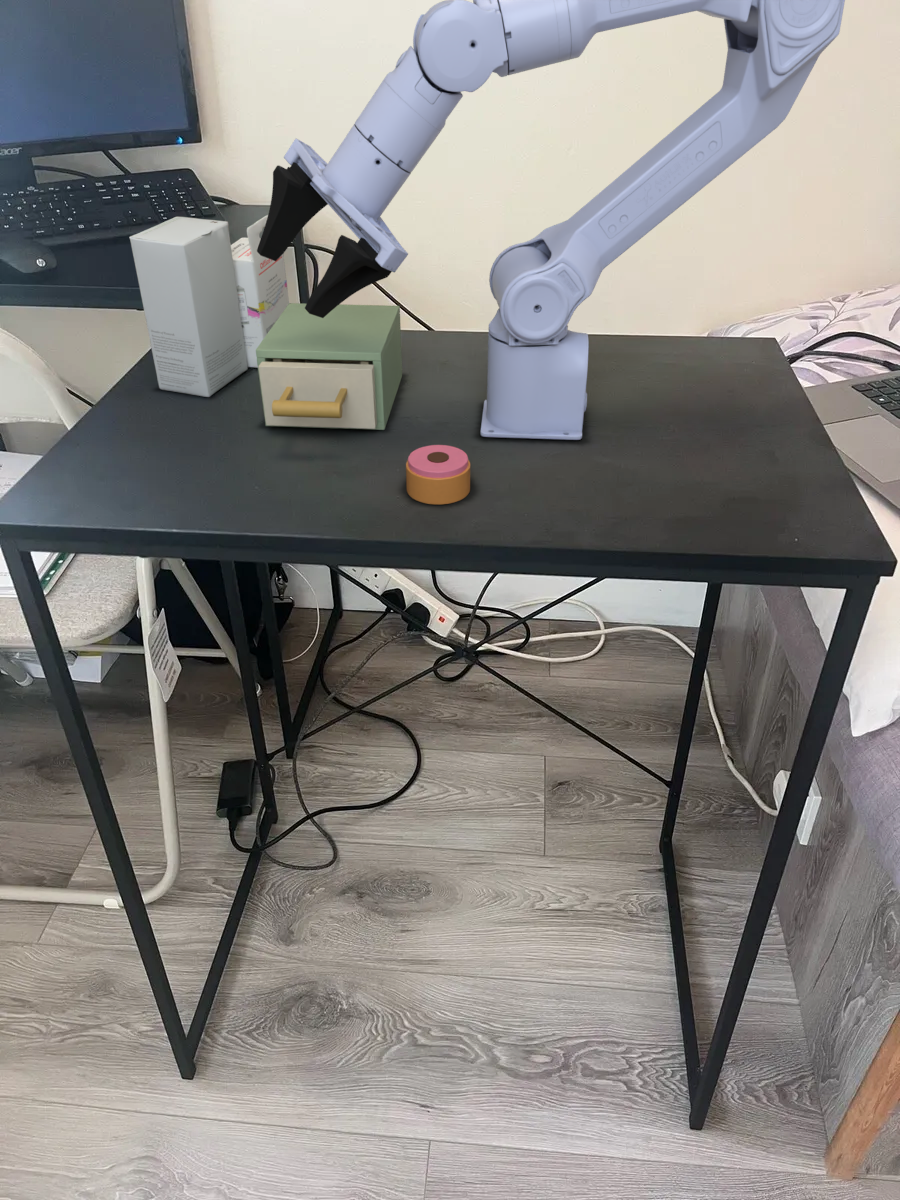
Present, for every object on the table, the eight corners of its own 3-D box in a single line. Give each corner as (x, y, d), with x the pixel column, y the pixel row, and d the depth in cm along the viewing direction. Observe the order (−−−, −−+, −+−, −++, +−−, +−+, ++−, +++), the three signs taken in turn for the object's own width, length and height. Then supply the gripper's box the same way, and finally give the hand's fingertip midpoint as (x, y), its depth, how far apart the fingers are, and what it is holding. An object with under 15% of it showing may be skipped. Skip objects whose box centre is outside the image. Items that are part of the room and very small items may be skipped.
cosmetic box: (201, 362, 101) (176, 214, 92) (253, 370, 99) (232, 220, 90) (156, 390, 94) (124, 234, 85) (210, 399, 92) (184, 240, 83)
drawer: (367, 452, 81) (363, 390, 77) (252, 448, 81) (243, 387, 78) (393, 378, 95) (390, 323, 91) (295, 375, 95) (289, 320, 92)
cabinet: (384, 430, 86) (380, 353, 82) (265, 426, 87) (255, 349, 83) (402, 376, 97) (399, 305, 93) (296, 373, 98) (288, 302, 94)
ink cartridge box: (254, 340, 107) (237, 207, 98) (294, 342, 106) (280, 208, 97) (225, 366, 100) (204, 226, 91) (268, 370, 99) (250, 228, 90)
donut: (472, 475, 79) (472, 443, 77) (468, 506, 74) (468, 473, 73) (410, 473, 79) (409, 441, 77) (403, 503, 75) (401, 470, 73)
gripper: (301, 74, 72) (212, 218, 77) (408, 188, 67) (306, 330, 73) (354, 110, 78) (268, 240, 83) (455, 216, 73) (357, 346, 79)
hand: (289, 284), depth 79 cm, fingers open, 7 cm apart
